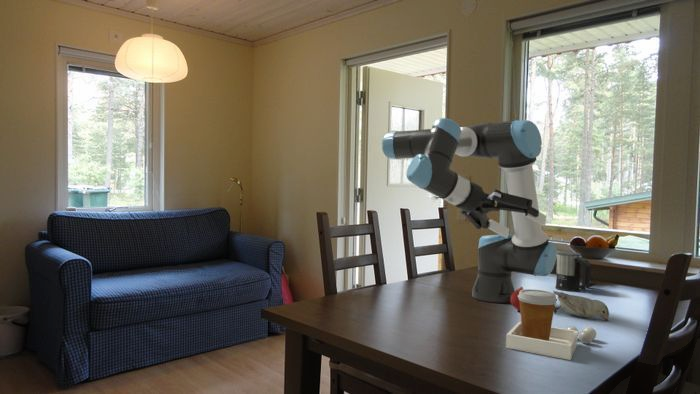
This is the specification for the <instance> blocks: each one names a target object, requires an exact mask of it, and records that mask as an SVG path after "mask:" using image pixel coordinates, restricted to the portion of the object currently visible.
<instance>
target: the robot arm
mask: <svg viewBox="0 0 700 394" xmlns="http://www.w3.org/2000/svg"><path fill="white" fill-rule="evenodd" d="M542 145H543V143H542V136H541V133H540V130H539V128H538V126H537V125H536V124H535V123H534V122H533V121H531V120H528V119H527V120H520V119H516V120H505V121H496V122H484V123H479V124H475V125H470V126H462V127H461V126H460V125H459V124H458V123H457V122H456V121H455V120H453V119H450V118H445V117H441V118H438V119H436V120H435V121H434V123H433V124H432V126H431V128H427V129H425V128H424V129H416V130H415V129H414V130H401V131H391V132H387V133H386V134H385V135H384V136H383V139H382V142H381V147H382V148H381V149H382V152H383V154H384V156H385V157H387V158H388V159H396V160H397V159H398V160H399V159H411V161H410V163H409V164H408V166H407V170H406V178H407V180H408V181H409V182H410V183H412V184H413V185H415V186H416V187H418V188H419V189H421V190H424V191H426V192H428V193H431V194H432V195H434V196H436V197H438V198H439V199H440V200H444V201H446V202H447V203H448V204H451V205H453V206H455V207H456V208H458V209H460V211H461V212H460V213H461V214H462V215H463V216H466V217H465V218H467V219H468V220H469V222H471V224H472V225H473V226H474V227H475V228H476V229H478V230H481V229H482V228H483V229H488V230H489V231H492V232H494V233H496V234H492V235H491V234H490V235H487V234H486V235H482V236H481V237H480V238H479V239H478V247H477V248H478V257H477V259H478V260H477V264H478V265H477V276H476V279H475V282H474V285H473V287H472V291H471V293H472V294H471V296H472V298H473V299H476V300H477V301H478V300H479V301H484V302H490V303H502V304H503V303H505V304H507V303H511V295H512V294H513V292H514V291H516V290H515V287H514V283H513V281H512V273H518V274H522V275H523V274H524V275H531V276H534V277H536V276H537V277H547V276H549V275H550V274H551V272H553V270H554V267H555V265H556V263H557V252H558V248H557V245H556V243H554V242H552V241H549V237H548V234H547V232H545V231H543V230H542V226H546V224H547V223H546V222H547V215H545V214H544V213H543V212H540V210H539V202H538V194H537V188H536V181H535V175H534V169H533V168H534V167H533V165H535V163H536V162H537V157H539V156H540V154H541V152H542ZM455 155H457V156H459V157H464V158H465V157H466V158H467V157H469V158H470V157H471V158H478V159H479V158H480V159H496V160H497V165H498V167H499V168H500V169H502V170H504V174H505V175H504V176H505V183H506V187H507V193H505V192H502V191H501V190H498V189H496V188H495V189H493V191H492V193H491V194H489V193H486V192H484V189H483V187H482V186H481V185H479V184H477V183H475V182H473V181H471V180H469V179H468V178H466V177H465V176H463V175H462V174H459V173H457V172H455V171H454V170H452V169H451V166H452V163H453V159H454V157H455ZM499 211H506V212H511V218H512V223H513V229H514V234H509V233H510V228H509V227H508V226H505V225H503V224H502V223H499V222H497V221H495V220H493V219H492V218H491V219H489V217H488V213H490V212H499Z"/></svg>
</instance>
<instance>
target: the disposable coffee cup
mask: <svg viewBox="0 0 700 394" xmlns="http://www.w3.org/2000/svg"><path fill="white" fill-rule="evenodd" d="M518 298H519V302H520V311H519V312H520V322H521V324H522V335H523V337H529V338H534V339H540V340H546V341H549V336H550V331H551V327H552V325H553V320H554V319H553V318H554V314H555V312H554V307H555V308H556V304H557V302H558V298H557V295H556V294H554V293H553V291H552V292H551V291H548V290H541V289H531V288H530V289H529V288H528V289H523V290H520V292H519V295H518Z"/></svg>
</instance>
